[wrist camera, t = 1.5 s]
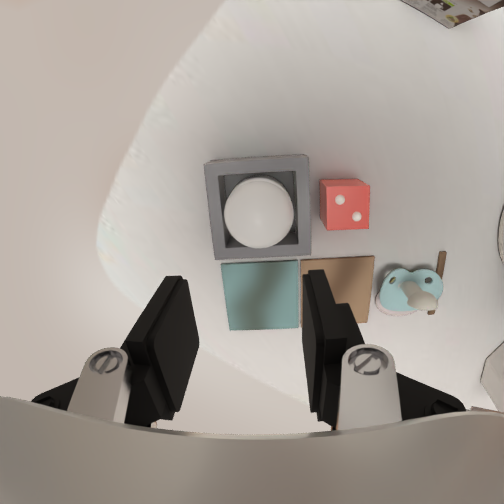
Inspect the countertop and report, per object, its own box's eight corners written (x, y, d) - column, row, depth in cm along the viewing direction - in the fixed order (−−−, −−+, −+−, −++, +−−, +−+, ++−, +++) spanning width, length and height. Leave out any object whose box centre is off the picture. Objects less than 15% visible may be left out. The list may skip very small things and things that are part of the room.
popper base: (357, 153, 25) (370, 157, 21) (356, 239, 28) (368, 256, 24) (210, 160, 26) (201, 165, 22) (220, 247, 29) (213, 264, 25)
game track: (445, 251, 28) (446, 252, 27) (433, 312, 30) (434, 314, 30) (221, 263, 29) (220, 264, 29) (230, 328, 32) (229, 330, 32)
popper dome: (289, 173, 25) (294, 183, 20) (292, 233, 27) (297, 257, 22) (226, 177, 25) (215, 188, 20) (232, 236, 27) (223, 261, 22)
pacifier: (423, 311, 31) (437, 264, 28) (445, 345, 25) (465, 294, 23) (366, 312, 31) (377, 262, 29) (382, 351, 25) (399, 295, 23)
